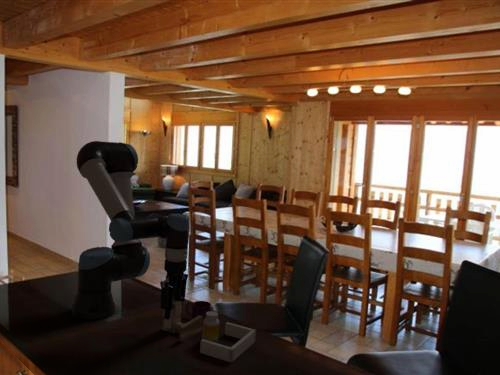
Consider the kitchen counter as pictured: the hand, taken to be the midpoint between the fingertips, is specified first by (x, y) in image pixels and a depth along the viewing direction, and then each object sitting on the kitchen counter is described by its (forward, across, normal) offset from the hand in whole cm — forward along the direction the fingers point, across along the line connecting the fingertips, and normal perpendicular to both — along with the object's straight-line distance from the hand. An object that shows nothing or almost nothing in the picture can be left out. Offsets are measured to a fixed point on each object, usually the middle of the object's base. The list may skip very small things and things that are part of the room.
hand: (171, 325), depth 150 cm
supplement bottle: (+2, 0, -16) cm, 16 cm away
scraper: (+2, 0, -3) cm, 4 cm away
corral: (+2, 0, -22) cm, 22 cm away
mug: (+2, +12, -3) cm, 13 cm away
